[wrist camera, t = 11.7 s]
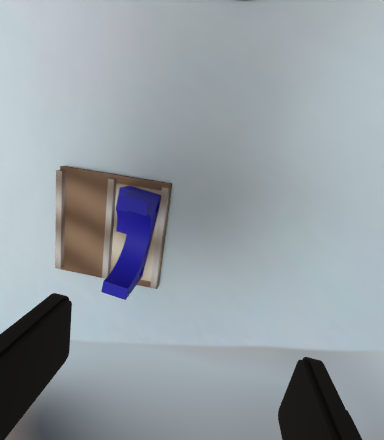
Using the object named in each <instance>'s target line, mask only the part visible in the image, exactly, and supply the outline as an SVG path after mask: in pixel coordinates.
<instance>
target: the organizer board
mask: <svg viewBox="0 0 384 440" xmlns="http://www.w3.org/2000/svg"><path fill="white" fill-rule="evenodd" d="M125 186H133V187H136V188H139V189H143V190H146V191H149V192H153V193H156V194H159V195H161V201H160V207H159V211H158V215H157V219H156V223H155V227H154V231H153V235H152V240H151V244H150V248H149V252H148V256H147V260H146V264H145V268H144V272H143V276H142V278H141V279H140V281H139V282H138V283H137V285H140V286H145V287H150V288H155V289H157V288H158V286H159V280H160V272H161V264H162V256H163V249H164V241H165V233H166V225H167V217H168V209H169V202H170V194H171V186H172V184H171V183H165V182H159V181H153V180H147V179H141V178H134V177H128V176H122V175H116V174H110V173H104V172H98V171H92V170H85V169H79V168H73V167H67V166H60V170H56V252H55V268H58V269H62V270H67V271H72V272H77V273H82V274H87V275H91V276H96V277H101V278H107V277H108V275H109V274H110V273H111V271H112V270H113V268H114V266H115V264H116V263H117V261H118V259H119V256H120V254H121V252H122V249H123V246H124V243H125V239H126V235H127V234H124V233H120V232H117V231H116V228H117V212H116V204H117V199H118V194H119V189H120V187H125Z"/></svg>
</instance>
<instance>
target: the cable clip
mask: <svg viewBox="0 0 384 440" xmlns="http://www.w3.org/2000/svg"><path fill="white" fill-rule="evenodd" d="M160 201H161V195H159V194H156V193H153V192H149V191H146V190H143V189H139V188H136V187H133V186H125V187H120V189H119V194H118V199H117V204H116V212H117V228H116V231H117V232H120V233H124V234H127V235H126V239H125V243H124V246H123V249H122V252H121V254H120V256H119V259H118V261H117V263H116V264H115V266H114V268H113V270H112V271H111V273H110V274H109V275H108V277H107V278H106V279H105V280H104V282H103V287H102V292H103V293H106V294H109V295H112V296H115V297H119V298H122V299H125V300H126V298H127V297H128V296H129V294H130V293H131V292H132V290H133V289H134V287H135V286H136V285H137V283H138V282H139V281H140V279H141V278H142V276H143V272H144V268H145V264H146V260H147V256H148V252H149V248H150V244H151V240H152V235H153V231H154V227H155V223H156V219H157V215H158V211H159V207H160Z"/></svg>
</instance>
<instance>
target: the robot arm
mask: <svg viewBox="0 0 384 440" xmlns="http://www.w3.org/2000/svg"><path fill="white" fill-rule="evenodd" d="M71 307H72V303H71V301H69V298H68V297H67V296H64V295H60V294H56V293H53V294H51V295H50V296H49V297H47V298H46V299H45V300H44V301H42V302H41V303H40V304H38V305H37V306H36V307H35V308H33V309H32V310H31V311H30V312H28V313H27V314H26V315H25V316H23V317H22V318H21V319H19V320H18V321H17V322H16V323H14V324H13V325H12V326H10V327H9V328H8V329H7V330H5V331H4V332H3V333H1V334H0V440H4V439H5V438H6V437H7V435H8V434H9V433H10V432H11V430H12V429H13V428H14V427H15V425H16V424H17V423H18V421H19V420H20V419H21V418H22V416H23V415H24V414H25V412H26V411H27V410H28V409H29V407H30V406H31V405H32V403H33V402H34V401H35V400H36V398H37V397H38V396H39V395H40V393H41V392H42V391H43V389H44V388H45V387H46V385H47V384H48V383H49V382H50V380H51V379H52V378H53V376H54V375H55V374H56V373H57V371H58V370H59V369H60V367H61V366H62V365H63V364H64V362H65V361H66V359H67V357H68V354H69V345H70V326H71ZM278 420H279V425H280V430H281V435H282V439H283V440H362V438H361V436H360V434H359V432H358V430H357V428H356V426H355V424H354V422H353V420H352V418H351V416H350V415H349V413H348V411H347V410H346V409H345V407H344V405H343V403H342V401H341V399H340V397H339V395H338V393H337V390H336V388H335V386H334V384H333V382H332V380H331V378H330V376H329V374H328V372H327V370H326V368H325V366H324V364H323V362H322V361H320V360H316V359H312V358H308V357H304V358H303V360H299V361H298V363H297V365H296V368H295V370H294V373H293V375H292V378H291V380H290V383H289V385H288V388H287V390H286V393H285V395H284V398H283V400H282V403H281V406H280V408H279V412H278Z"/></svg>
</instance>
